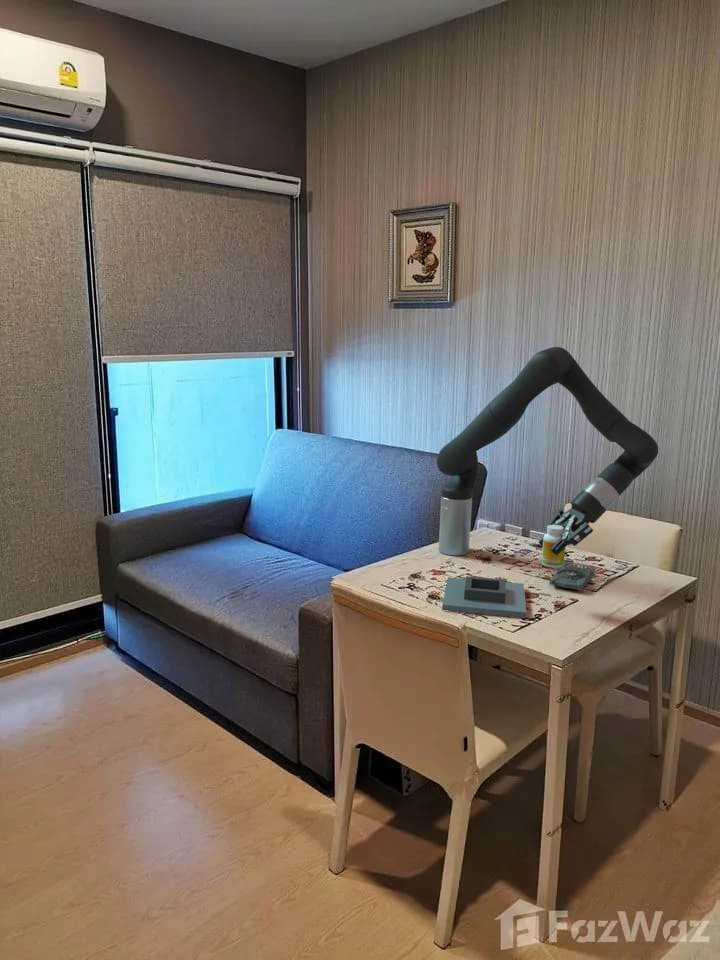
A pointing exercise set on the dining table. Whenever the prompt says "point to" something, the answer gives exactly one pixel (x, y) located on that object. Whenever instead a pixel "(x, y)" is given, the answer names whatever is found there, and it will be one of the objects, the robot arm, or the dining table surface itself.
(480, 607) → the socket board
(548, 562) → the supplement bottle
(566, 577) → the graphics card
